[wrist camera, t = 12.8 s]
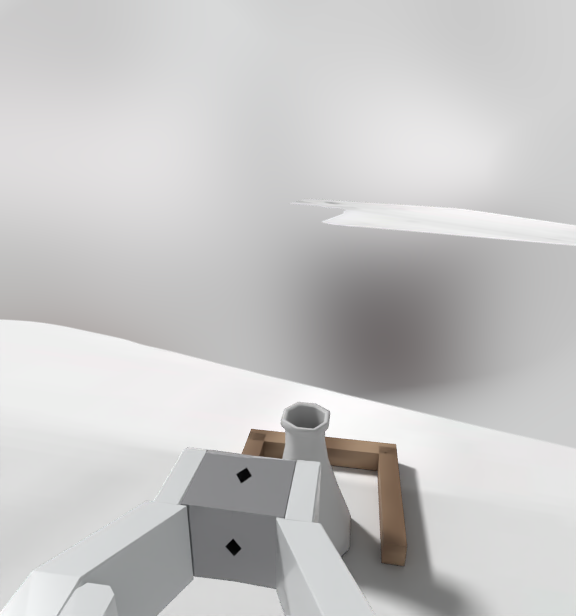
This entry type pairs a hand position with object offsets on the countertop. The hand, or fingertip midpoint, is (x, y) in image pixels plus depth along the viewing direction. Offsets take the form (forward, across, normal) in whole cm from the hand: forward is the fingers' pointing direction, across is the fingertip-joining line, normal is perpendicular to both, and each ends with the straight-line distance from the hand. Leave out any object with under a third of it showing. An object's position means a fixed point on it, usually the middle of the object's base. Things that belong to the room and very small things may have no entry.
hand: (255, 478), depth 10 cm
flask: (+17, -1, -20) cm, 26 cm away
